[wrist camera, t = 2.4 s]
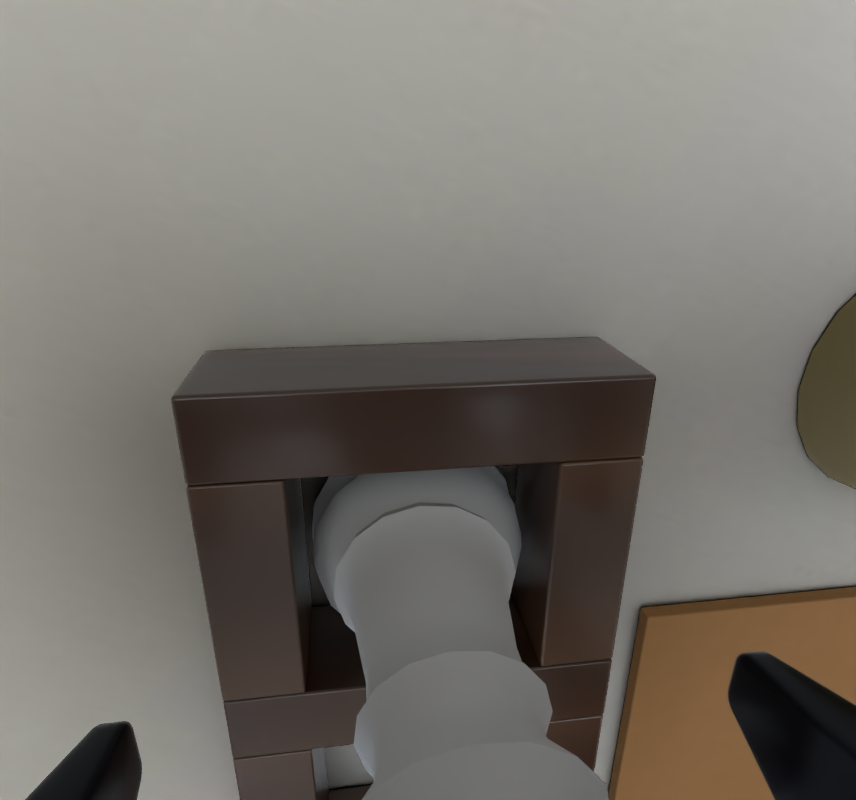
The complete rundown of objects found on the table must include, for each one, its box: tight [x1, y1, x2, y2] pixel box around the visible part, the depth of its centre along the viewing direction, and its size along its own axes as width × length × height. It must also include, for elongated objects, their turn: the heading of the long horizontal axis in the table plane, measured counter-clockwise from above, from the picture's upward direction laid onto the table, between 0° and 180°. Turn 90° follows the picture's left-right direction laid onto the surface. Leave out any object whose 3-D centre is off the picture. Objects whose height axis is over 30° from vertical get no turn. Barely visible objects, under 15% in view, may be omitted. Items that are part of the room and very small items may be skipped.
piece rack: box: [171, 337, 656, 800], centre depth 14 cm, size 21×8×2 cm, turn 0°
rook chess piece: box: [312, 466, 609, 800], centre depth 10 cm, size 4×4×8 cm
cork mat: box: [608, 587, 856, 800], centre depth 18 cm, size 12×12×1 cm
